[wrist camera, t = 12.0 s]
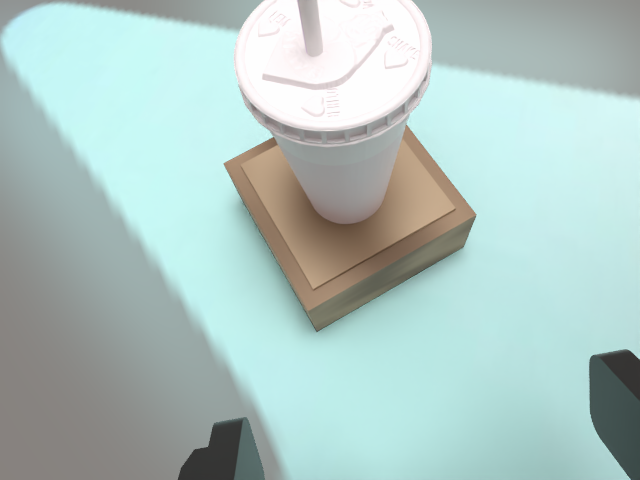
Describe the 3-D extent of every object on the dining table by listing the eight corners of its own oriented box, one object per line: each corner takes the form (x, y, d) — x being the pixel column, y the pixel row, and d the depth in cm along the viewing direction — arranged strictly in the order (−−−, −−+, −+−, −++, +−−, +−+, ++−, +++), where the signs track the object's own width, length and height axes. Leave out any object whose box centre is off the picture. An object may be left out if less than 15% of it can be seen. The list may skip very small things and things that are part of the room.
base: (375, 127, 32) (374, 80, 28) (463, 246, 29) (477, 212, 25) (241, 199, 31) (222, 161, 27) (316, 331, 28) (306, 309, 24)
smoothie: (260, 167, 27) (151, -109, 14) (374, 113, 27) (371, -200, 14) (316, 274, 24) (247, 61, 11) (440, 213, 25) (507, -57, 12)
